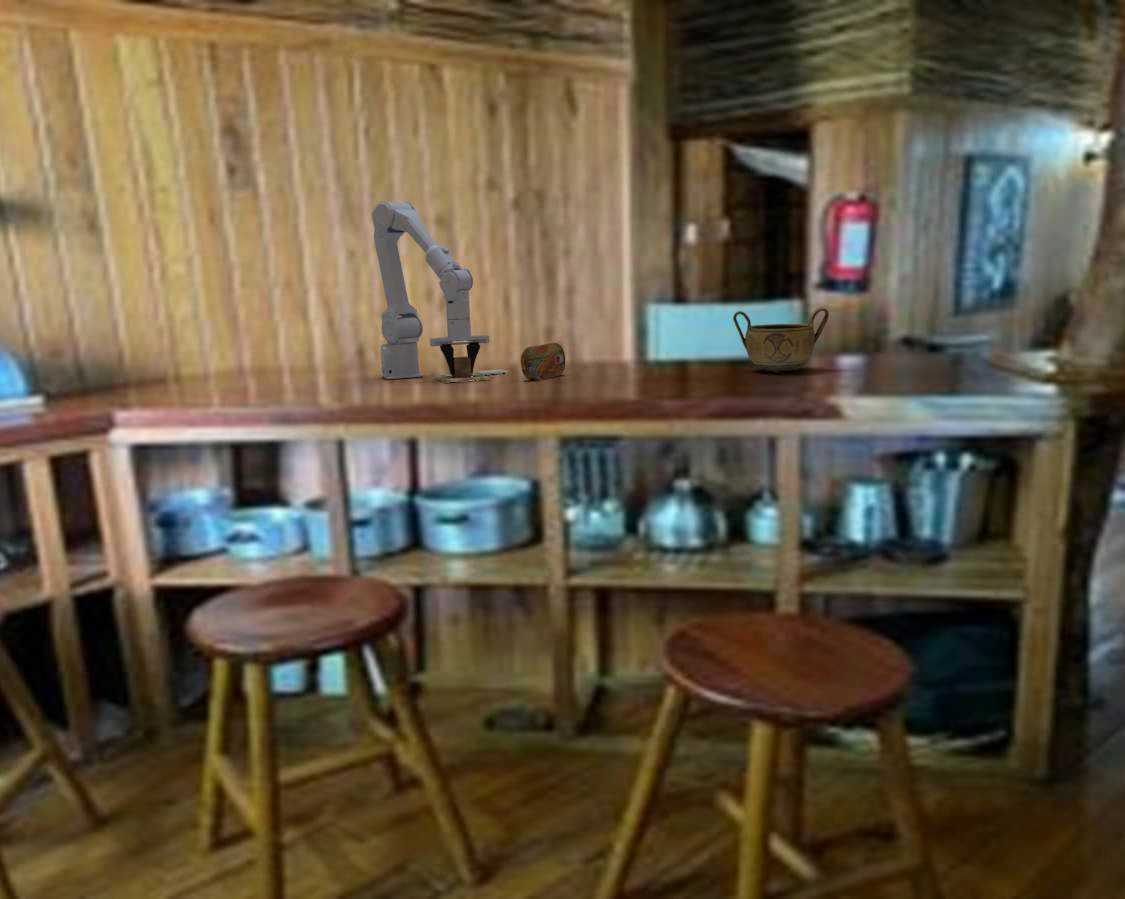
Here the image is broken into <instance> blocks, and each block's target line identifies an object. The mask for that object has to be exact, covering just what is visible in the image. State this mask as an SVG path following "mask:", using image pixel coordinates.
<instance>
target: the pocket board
mask: <svg viewBox="0 0 1125 899" xmlns="http://www.w3.org/2000/svg"><path fill="white" fill-rule="evenodd" d="M471 376H473V377H468V378H455V379H451V378H452V375H450V374H442V375H441V374H439V375H434V379H435V378H436V379H435V380H437V379H438V380H437V381H439V380H440V381H439V382H441V381H443V382H445V383H447V382H460V381H469V380H489V381H490V377H489V376H485V375H482V374H480V373H476V372H473V374H471ZM443 382H442V383H443ZM445 383H444V384H445Z"/></svg>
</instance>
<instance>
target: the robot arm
mask: <svg viewBox="0 0 1125 899" xmlns="http://www.w3.org/2000/svg"><path fill="white" fill-rule="evenodd" d="M371 218H372V224H373V227H374V228H373V230H374V233H373V240H374V245H375V246H374V247H375V251H376V255H377V260H378V265H379V272H380V275H381V276H380V277H381V281H382V285H383V290H384V295H385V300H386V301H385V302H386V306H387V307H386V308H385V309H384V311H383V312H382V313H381V315H380V316H381V321H382V322H381V330H380V331H381V334H382V337H383V339H384V340H385V341H386V343H383V344H381V346H380V359H381V361H380V362H381V373H382V375H381V376H383V377H382V378H384V379H385V378H386V379H385V380H395V379H397V380H399V379H410V378H422V376H423V377H424V375H423V374H422V373H420V364H419V362H420V361H419V348H418V342H419V341H420V337H421V336H422V334H423V330H424V327H423V326H424V325H423V322H422V320H421V319H420V317H419V314H418V310H417V309H416V308H415V307H414V306H413V305H412V304H411V303H410V302H409V297H408V292H407V287H406V282H405V276H404V271H403V267H402V263H401V257H400V251H399V247H398V241H399V240H400V238H401V237H402V236H403V235H405V234H406V233H408V235H409V236H410V237H411V238H412V240H413V241H415V243H416V244H417V246H419V247H420V248H421V250H422V251H423V252H424V253H425V257H424V258H425V261H426V263H427V265H428V266H429V267H430V268H431V270H432V271H433V272H434V273H435V274H436V276H437V277H438V279H439V280H440V281H439V287H440V290H441V291H442V293H443V298H444V300H445V310H446V312H445V313H446V327H447V330H446V331H447V336H443V337H442V336H441V337H433V338H429V345H430V347H432V348H433V347H434V348H435V347H439V349H440V351H441V353H442V355H443V357H444V359H445V361H446V363H447V366H448V371H449V375H455V370H454V355H455V354H454V353H455V352H454V351H455V349H454V347H453V346H457V345H465V346H466V355H467V357H469V358H470V359H471V374H473V373H474V368H475V363H476V359H477V358H478V357H477V356H478V354H479V351H480V349H481V345H480V344H490V335H488V334H484V335H483V334H482V335H481V334H480V335H472V331H471V330H472V329H471V308H470V293H469V292H470V291H471V290H472V288H473V286H474V278H473V275H472V273H471V271H470V270H469V269H467V268H463V267H462V266H461V265H460V264H459V262H457V261H456V260H455V259H454V258H453V256H452V255H451V254H450V250H449V248H448V247H446V246H444V245H441V244H440V245H438V244H437V242H436V241H435V240H434V238H433V237H432V236H431V234H430V232H429V230H428V229H427V227H425V224H424V223H423V221H422V220H421V219H420V212H419V211H418V210H417V209H416V207H415V206H414V205H413V204H412V203H410V202H405V201H404V202H394V201H393V202H392V201H380V202H378V203H377V204H376V205H375V207H374V209H373V211H372V212H371Z"/></svg>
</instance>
